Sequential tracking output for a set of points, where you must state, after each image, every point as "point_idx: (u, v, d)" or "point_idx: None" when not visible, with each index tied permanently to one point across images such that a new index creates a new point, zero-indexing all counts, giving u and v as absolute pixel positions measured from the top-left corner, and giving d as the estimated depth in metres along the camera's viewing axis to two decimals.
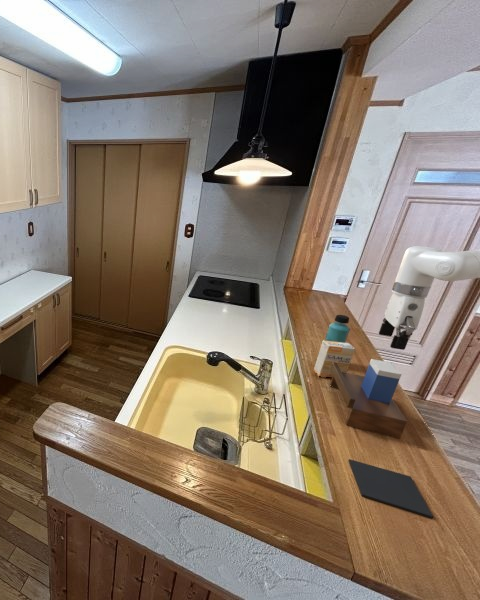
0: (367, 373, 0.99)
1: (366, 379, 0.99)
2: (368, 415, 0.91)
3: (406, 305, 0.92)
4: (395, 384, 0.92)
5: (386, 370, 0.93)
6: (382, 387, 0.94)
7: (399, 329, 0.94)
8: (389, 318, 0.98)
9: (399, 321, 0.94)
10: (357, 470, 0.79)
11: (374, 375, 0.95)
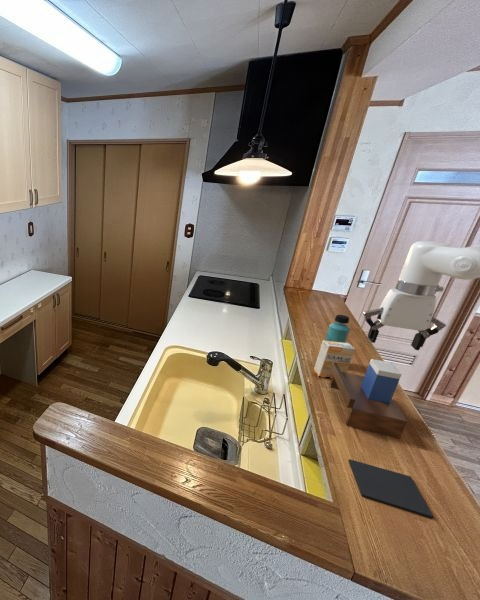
0: (367, 373, 0.99)
1: (366, 379, 0.99)
2: (368, 415, 0.91)
3: None
4: (395, 384, 0.92)
5: (386, 370, 0.93)
6: (382, 387, 0.94)
7: None
8: (404, 324, 0.88)
9: (429, 323, 0.86)
10: (357, 470, 0.79)
11: (374, 375, 0.95)
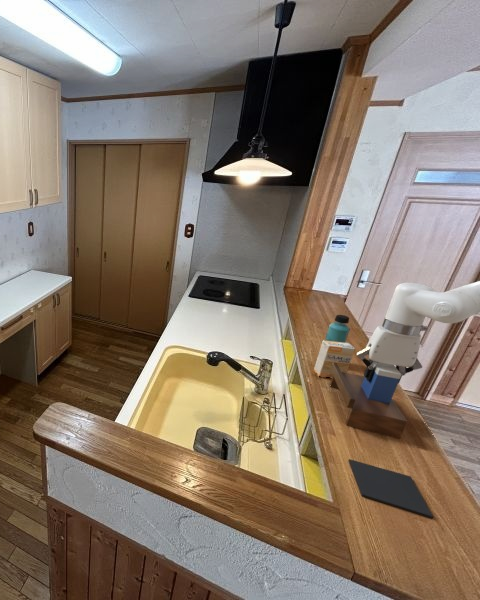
0: None
1: (366, 379, 0.99)
2: (368, 415, 0.91)
3: None
4: (395, 384, 0.92)
5: (386, 370, 0.93)
6: (382, 387, 0.94)
7: None
8: (391, 360, 0.92)
9: (415, 360, 0.90)
10: (357, 470, 0.79)
11: (374, 375, 0.95)
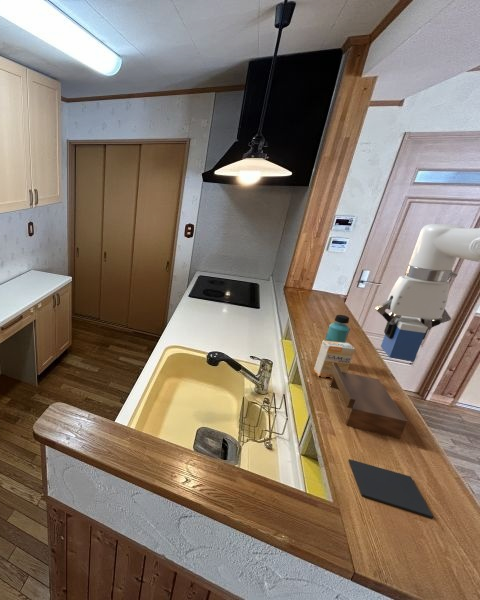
0: None
1: (386, 337, 0.91)
2: (368, 415, 0.91)
3: None
4: (420, 339, 0.83)
5: (410, 324, 0.84)
6: (405, 343, 0.85)
7: None
8: (416, 312, 0.83)
9: (443, 311, 0.81)
10: (357, 470, 0.79)
11: (396, 331, 0.86)
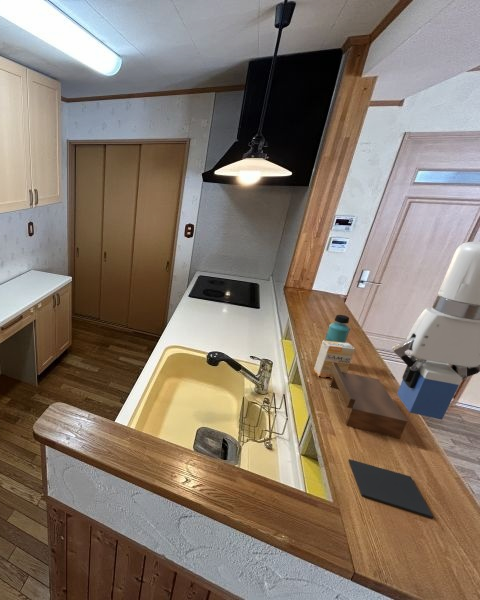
0: None
1: (405, 384, 0.71)
2: (368, 415, 0.91)
3: None
4: (452, 392, 0.63)
5: (438, 372, 0.64)
6: (432, 396, 0.65)
7: None
8: (447, 357, 0.63)
9: None
10: (357, 470, 0.79)
11: (419, 379, 0.66)
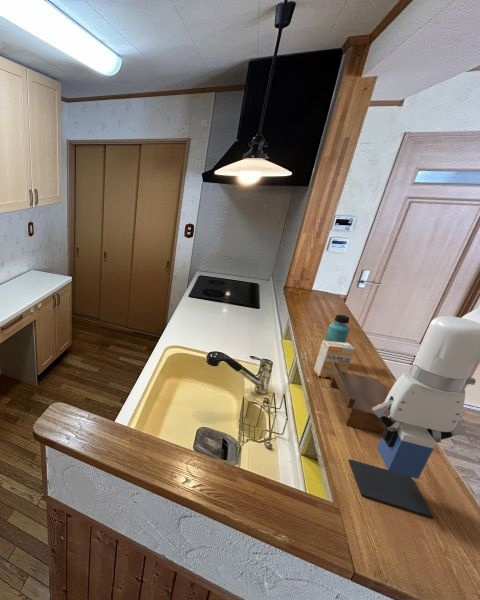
0: None
1: (384, 441, 0.74)
2: (368, 415, 0.91)
3: None
4: (427, 455, 0.67)
5: (414, 435, 0.67)
6: (408, 457, 0.68)
7: None
8: (422, 422, 0.66)
9: (456, 424, 0.64)
10: (357, 470, 0.79)
11: (397, 440, 0.69)
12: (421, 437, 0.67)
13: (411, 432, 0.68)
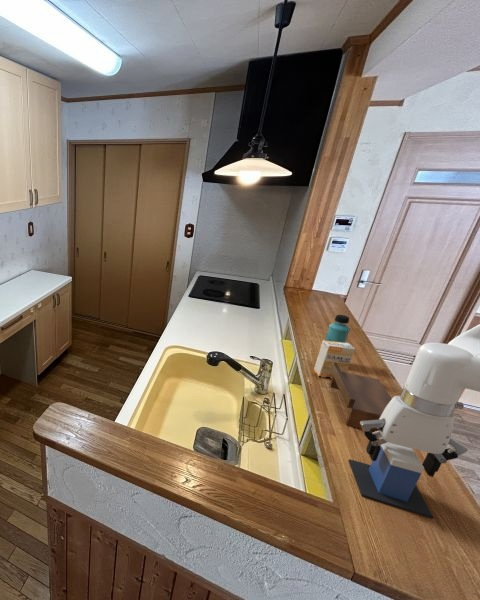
0: None
1: (375, 463, 0.76)
2: (368, 415, 0.91)
3: None
4: (415, 479, 0.69)
5: (403, 460, 0.69)
6: (398, 481, 0.71)
7: (441, 453, 0.68)
8: (413, 444, 0.68)
9: (446, 446, 0.66)
10: (357, 470, 0.79)
11: (387, 464, 0.72)
12: (409, 462, 0.69)
13: (400, 457, 0.70)
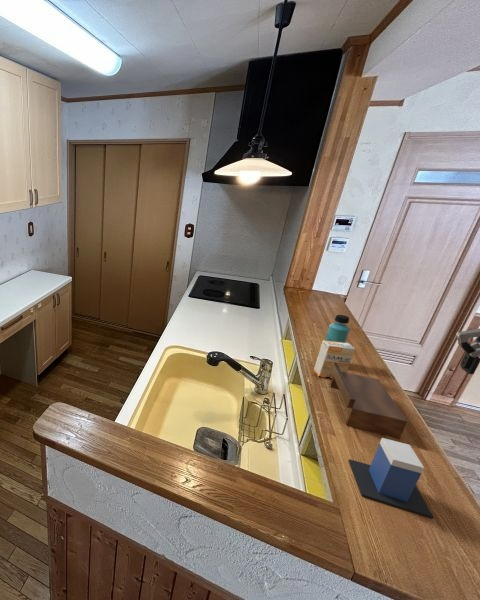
0: (377, 456, 0.76)
1: (375, 463, 0.76)
2: (368, 415, 0.91)
3: None
4: (415, 479, 0.69)
5: (403, 460, 0.69)
6: (398, 481, 0.71)
7: None
8: None
9: None
10: (357, 470, 0.79)
11: (387, 464, 0.72)
12: (409, 462, 0.69)
13: (400, 457, 0.70)
